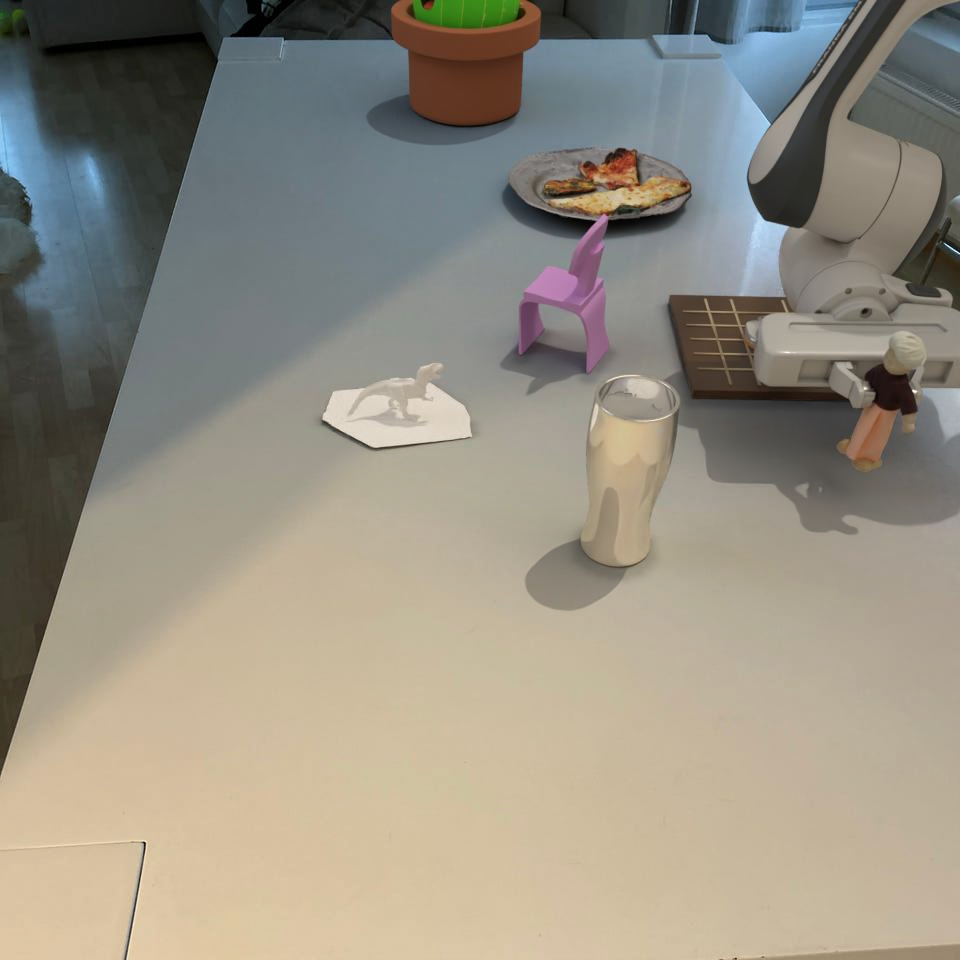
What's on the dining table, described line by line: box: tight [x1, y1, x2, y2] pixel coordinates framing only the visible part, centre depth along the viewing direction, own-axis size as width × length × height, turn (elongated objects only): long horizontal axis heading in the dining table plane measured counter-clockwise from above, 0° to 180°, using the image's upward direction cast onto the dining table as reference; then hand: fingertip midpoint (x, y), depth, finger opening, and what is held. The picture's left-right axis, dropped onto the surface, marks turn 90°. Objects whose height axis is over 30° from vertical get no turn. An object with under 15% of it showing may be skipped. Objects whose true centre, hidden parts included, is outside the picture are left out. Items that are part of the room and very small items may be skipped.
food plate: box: [507, 146, 693, 222], centre depth 134 cm, size 25×23×4 cm
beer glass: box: [579, 373, 681, 568], centre depth 80 cm, size 7×7×15 cm
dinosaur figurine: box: [322, 362, 473, 449], centre depth 97 cm, size 15×12×6 cm
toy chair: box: [518, 214, 611, 374], centre depth 102 cm, size 8×9×15 cm
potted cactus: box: [390, 0, 542, 127], centre depth 148 cm, size 22×22×25 cm
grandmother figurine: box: [836, 331, 927, 473], centre depth 85 cm, size 8×4×13 cm, turn 29°
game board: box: [668, 294, 850, 402], centre depth 108 cm, size 20×20×1 cm
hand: (889, 401), depth 84 cm, fingers closed on grandmother figurine, 3 cm apart
